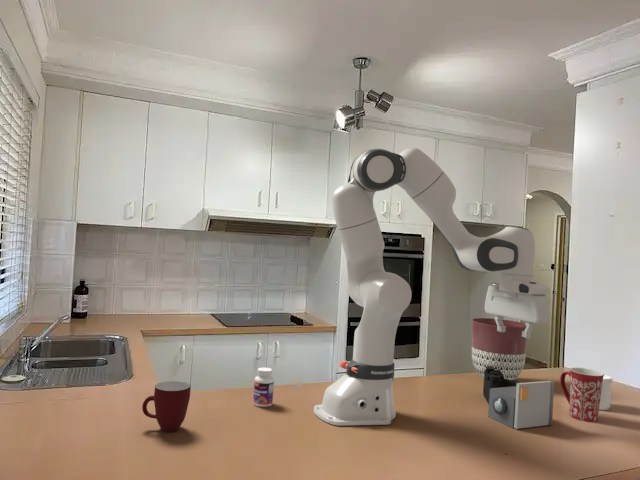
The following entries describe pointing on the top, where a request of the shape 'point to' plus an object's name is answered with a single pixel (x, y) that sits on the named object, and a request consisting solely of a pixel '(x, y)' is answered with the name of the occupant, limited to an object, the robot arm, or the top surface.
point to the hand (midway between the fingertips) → (513, 334)
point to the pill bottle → (263, 388)
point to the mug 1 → (169, 404)
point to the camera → (495, 381)
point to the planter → (498, 347)
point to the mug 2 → (583, 393)
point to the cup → (605, 393)
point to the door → (534, 404)
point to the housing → (502, 405)
